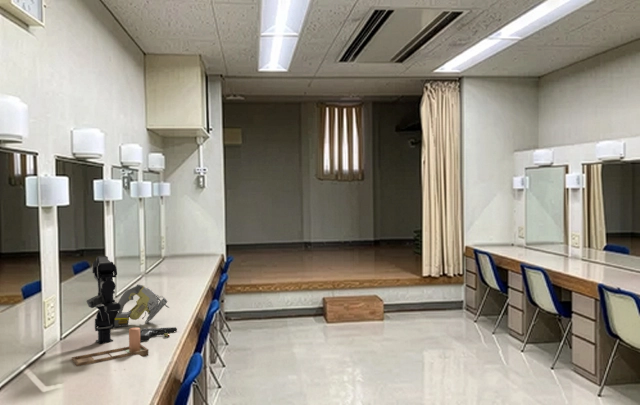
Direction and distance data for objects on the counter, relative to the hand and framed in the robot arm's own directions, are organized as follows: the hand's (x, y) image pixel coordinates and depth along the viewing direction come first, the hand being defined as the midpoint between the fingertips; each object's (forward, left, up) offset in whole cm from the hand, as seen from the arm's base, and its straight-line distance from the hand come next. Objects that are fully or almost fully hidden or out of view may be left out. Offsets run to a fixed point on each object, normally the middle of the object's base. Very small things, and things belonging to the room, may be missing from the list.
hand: (107, 322), depth 235 cm
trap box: (+13, -4, -13) cm, 19 cm away
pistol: (-7, +27, -14) cm, 31 cm away
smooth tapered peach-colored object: (+14, +7, -12) cm, 20 cm away
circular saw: (-39, +31, -13) cm, 51 cm away
